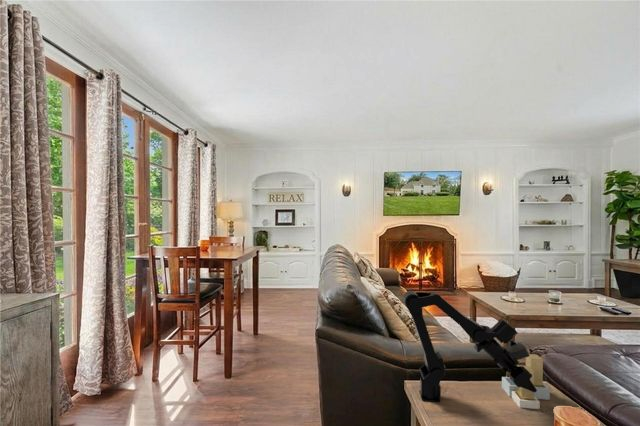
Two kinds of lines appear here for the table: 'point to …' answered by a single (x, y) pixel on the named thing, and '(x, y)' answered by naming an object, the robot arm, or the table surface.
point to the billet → (525, 393)
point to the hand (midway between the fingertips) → (529, 384)
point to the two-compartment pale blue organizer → (510, 386)
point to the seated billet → (536, 368)
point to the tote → (526, 402)
